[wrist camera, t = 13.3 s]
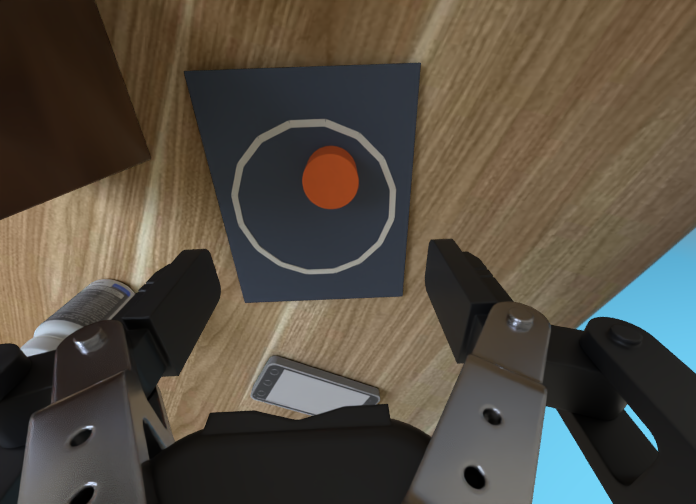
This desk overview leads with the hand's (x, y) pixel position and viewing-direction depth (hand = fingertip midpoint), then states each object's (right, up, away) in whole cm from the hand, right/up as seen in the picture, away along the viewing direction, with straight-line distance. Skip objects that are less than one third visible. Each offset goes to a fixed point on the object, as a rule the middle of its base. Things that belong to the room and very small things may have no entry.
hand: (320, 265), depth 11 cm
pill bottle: (-22, -4, +19) cm, 30 cm away
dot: (0, +7, +12) cm, 14 cm away
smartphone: (-3, -17, +27) cm, 32 cm away
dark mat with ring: (-2, +5, +14) cm, 15 cm away
